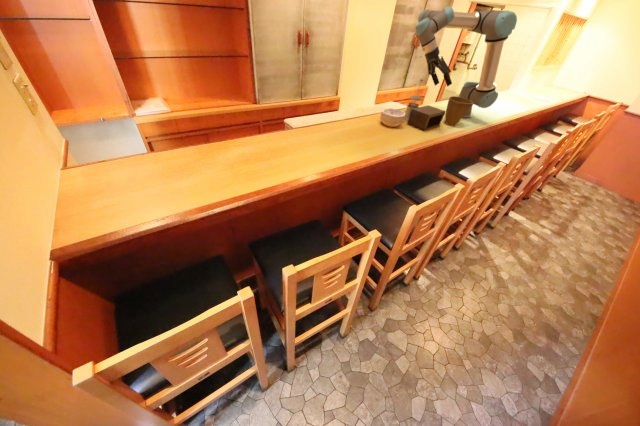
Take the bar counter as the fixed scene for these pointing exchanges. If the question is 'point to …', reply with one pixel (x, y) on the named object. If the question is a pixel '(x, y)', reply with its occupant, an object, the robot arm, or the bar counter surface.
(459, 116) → the plant pot
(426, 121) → the shelf
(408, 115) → the french press
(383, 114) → the paper bowls
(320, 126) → the bar counter surface
